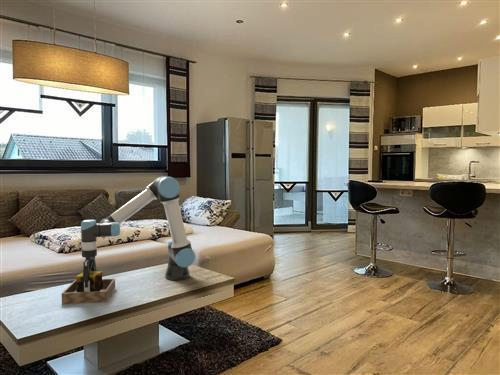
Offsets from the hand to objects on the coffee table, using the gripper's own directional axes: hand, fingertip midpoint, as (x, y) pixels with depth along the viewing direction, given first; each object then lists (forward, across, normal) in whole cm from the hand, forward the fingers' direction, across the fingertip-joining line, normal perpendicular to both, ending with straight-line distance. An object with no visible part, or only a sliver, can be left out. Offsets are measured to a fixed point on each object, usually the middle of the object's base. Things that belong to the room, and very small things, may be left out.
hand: (90, 289), depth 202 cm
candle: (+2, 0, 0) cm, 2 cm away
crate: (+3, 0, 0) cm, 3 cm away
